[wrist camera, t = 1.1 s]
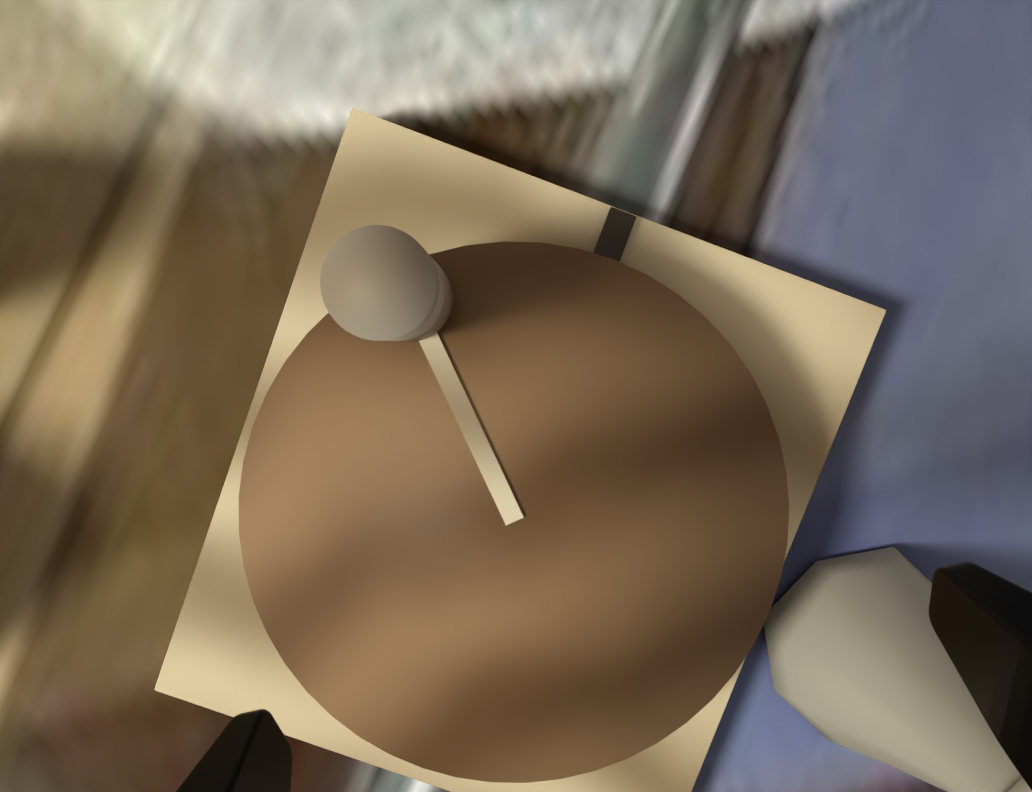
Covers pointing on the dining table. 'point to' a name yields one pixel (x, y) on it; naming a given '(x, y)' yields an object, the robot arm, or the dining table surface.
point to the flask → (882, 673)
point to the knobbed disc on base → (510, 507)
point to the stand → (515, 218)
